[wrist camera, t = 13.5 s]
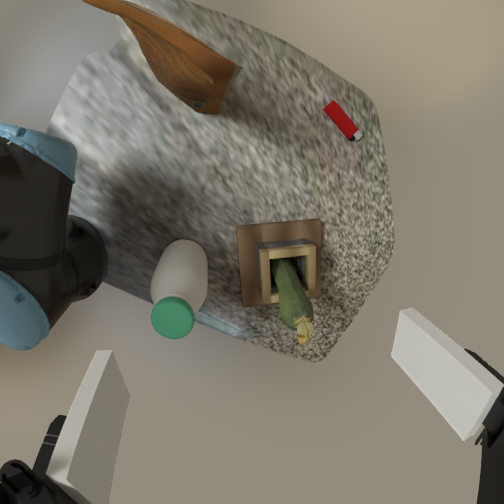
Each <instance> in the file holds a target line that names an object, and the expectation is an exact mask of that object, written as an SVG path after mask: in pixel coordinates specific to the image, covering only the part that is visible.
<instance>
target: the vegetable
mask: <svg viewBox="0 0 504 504" xmlns="http://www.w3.org/2000/svg"><path fill="white" fill-rule="evenodd" d="M271 263H272V265H271V270H272V273H273V276H274V279H275V282H276V285H277V288H278V291H279V306H280V312H281V316H282V319H283V322H284V323H285V324H286V325H287V326H288V327H289V328H291V329H292V330H296V331H297V332H298V334H299V336H298V335H295V336H296V337H297V338H298V340H299V341H297V342H299V343H300V344H301V345H302V344H304V343H307V342H308V341H310V340H311V339H310V337H311V336H312V333H313V326H312V323H311V322H312V321H313V306H312V304H311V302H310V300H309V298H308V296H307V294H306V293H305V291H304V290H303V288H302V285H301V283H300V281H299V279H298V276H297V273H296V271H295V269H294V267H293V266H292V264H291V263H290V262H289V261H288V260H287V259H284V258H276V259H274V260H273V261H272V262H271Z"/></svg>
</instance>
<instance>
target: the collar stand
mask: <svg viewBox="0 0 504 504" xmlns="http://www.w3.org/2000/svg"><path fill="white" fill-rule="evenodd" d="M236 235H237V247H238V259H239V271H240V282H241V294H242V304H243V307H250V306H258V305H266V304H273V303H279V291H278V288H277V285H276V282H275V279H270V261H269V259H276V258H285V257H294V256H296V263H297V276H298V279H299V281H300V283H301V285H302V288H303V290H304V291H305V293H306V294H307V296H308V298H315V297H320V283H321V220H319V219H308V220H296V221H284V222H272V223H261V224H251V225H240V226H236Z"/></svg>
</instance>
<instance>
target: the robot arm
mask: <svg viewBox="0 0 504 504" xmlns="http://www.w3.org/2000/svg"><path fill="white" fill-rule="evenodd" d="M76 162H77V150H76V148H75V146H74V145H73V144H72V143H70V142H69V141H66V140H64V139H61V138H59V137H56V136H53V135H49V134H46V133H43V132H39V131H35V130H31V129H25V128H21V127H18V126H14V125H9V124H0V342H1V343H3V344H4V345H6V346H8V347H10V348H13V349H16V350H23V351H25V350H30V349H32V348H34V347H35V346H37V345H38V344H39V343H40V342H41V341H42V340H43V339H44V338H46V337H47V336H48V334H49V331H50V330H51V328H52V327H53V326H54V324H55V323H56V322H57V321H58V319H59V318H60V317H61V316H62V314H63V313H64V312H65V311H66V310H67V308H68V307H69V306H70V305H71V303H73V302H76V301H79V300H83V299H85V298H87V297H89V296H90V295H91V294H92V293H94V292H95V291H96V290H97V288H98V287H99V286H100V284H101V283H102V281H103V279H104V277H105V274H106V270H107V254H106V249H105V246H104V243H103V241H102V239H101V237H100V236H99V234H98V232H97V231H96V230H95V229H94V228H93V226H91V225H90V224H89V223H88V222H87V221H85V220H84V219H82V218H79V217H77V216H73V215H68V212H69V205H70V198H71V192H72V186H73V184H74V183H75V178H74V175H75V168H76ZM391 357H392V358H393V359H394V360H395V361H396V362H397V364H398V365H399V366H400V367H401V368H402V369H403V370H404V372H405V373H406V374H407V375H408V376H409V377H410V378H411V380H412V381H413V382H414V383H415V384H416V385H417V386H418V388H419V389H420V390H421V391H422V392H423V393H424V394H425V396H426V397H427V398H428V399H429V400H430V402H431V403H432V404H433V405H434V406H435V407H436V409H437V410H438V411H439V412H440V413H441V415H442V416H443V417H444V418H445V419H446V421H447V422H448V423H449V424H450V425H451V427H452V428H453V429H454V430H455V431H456V433H457V434H458V435H459V436H460V438H461V439H462V440H463V441H465V440H466V439H468V438H469V437H471V436H472V435H474V434H475V433H476V432H477V430H478V429H479V427H480V426H481V424H483V425H484V426H485V428H484V429H483V431H482V433H481V434H480V435H479V437H478V438H477V440H476V442H475V445H477V444H478V443H479V441H480V440H481V438H482V442H481V444H480V445H482V460H481V473H480V483H479V491H478V498H477V504H504V377H503V376H501V375H500V374H499V373H498V372H497V371H496V370H494V369H493V368H492V367H491V366H489V365H488V364H487V363H486V362H485V361H483V360H482V358H481V357H479V356H478V355H477V354H476V353H474V352H472V351H470V350H467V349H463V348H461V347H460V346H459V345H458V344H457V343H455V342H454V341H453V340H452V339H450V338H449V337H448V336H447V335H446V334H444V333H443V332H442V331H441V330H439V329H438V328H437V327H436V326H434V325H433V324H432V323H431V322H430V321H428V320H427V319H425V317H423V316H422V315H421V314H419V313H418V312H417V311H416V310H414V309H413V308H408V309H404V310H401V311H400V314H399V319H398V325H397V330H396V335H395V340H394V345H393V349H392V353H391ZM129 399H130V394H129V392H128V389H127V387H126V385H125V382H124V380H123V378H122V375H121V372H120V370H119V368H118V365H117V362H116V359H115V357H114V354H113V351H112V350H101V351H100V350H99V351H98V350H97V351H96V353H95V355H94V357H93V360H92V362H91V364H90V366H89V368H88V370H87V372H86V374H85V376H84V379H83V381H82V383H81V385H80V388H79V390H78V392H77V394H76V396H75V399H74V401H73V403H72V406H71V408H70V410H69V413H68V415H67V416H64V415H58V416H57V417H56V418H55V419H54V421H53V422H52V423H51V424H50V426H49V429H48V431H47V433H46V434H47V436H45V438H44V441H43V444H42V446H41V448H40V451H39V453H38V456H37V458H36V461H35V464H34V467H33V469H32V470H31V469H30V468H29V467H28V466H27V465H26V464H25V463H24V462H22V461H21V460H16V459H15V460H10V461H8V462H6V463H5V464H4V465H3V466H2V467H1V469H0V482H1V483H0V504H109V498H110V491H111V485H112V479H113V473H114V468H115V462H116V457H117V452H118V447H119V442H120V438H121V433H122V428H123V424H124V420H125V415H126V411H127V407H128V403H129Z"/></svg>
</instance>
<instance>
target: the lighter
mask: <svg viewBox="0 0 504 504" xmlns="http://www.w3.org/2000/svg"><path fill="white" fill-rule="evenodd" d="M323 110H324V111H325V112H326V114H327V115H328V116H329V117H330V118H331V119H332V121H333V122H334V123H335V124H336V125H337V126H338V128H339V129H340V130H341V131H342V133H343V134H344V135H345V136H346V137H347V139H349V141H351V140H352V139H354V140H356V141H358V140H359V139H360V138H361V137H362V133H361V132H360V131H359V130H358V128H357V127H356V126H355V125H354V123H353V122H352V121H351V120H350V118H349V117H348V116H347V115H346V114H345V112H344V111H343V110H342V109H341V108H340V106H339V105H338V104H337V103H336V102H335V101H334V100H333V101H332V102H331V103H329V104H328V105H327V106H326V107H325V108H324V109H323Z"/></svg>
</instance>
